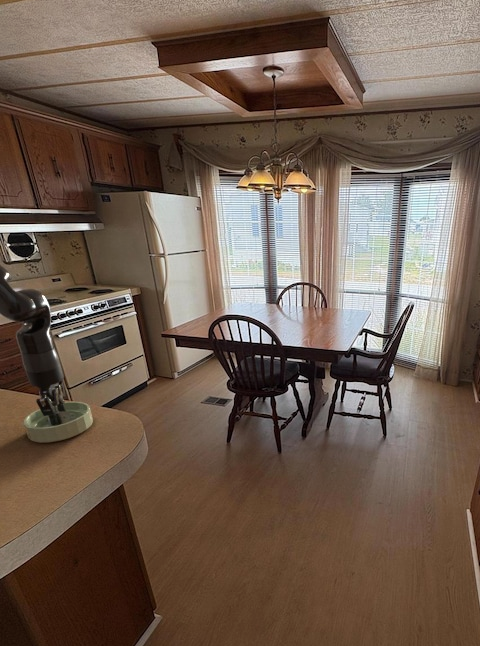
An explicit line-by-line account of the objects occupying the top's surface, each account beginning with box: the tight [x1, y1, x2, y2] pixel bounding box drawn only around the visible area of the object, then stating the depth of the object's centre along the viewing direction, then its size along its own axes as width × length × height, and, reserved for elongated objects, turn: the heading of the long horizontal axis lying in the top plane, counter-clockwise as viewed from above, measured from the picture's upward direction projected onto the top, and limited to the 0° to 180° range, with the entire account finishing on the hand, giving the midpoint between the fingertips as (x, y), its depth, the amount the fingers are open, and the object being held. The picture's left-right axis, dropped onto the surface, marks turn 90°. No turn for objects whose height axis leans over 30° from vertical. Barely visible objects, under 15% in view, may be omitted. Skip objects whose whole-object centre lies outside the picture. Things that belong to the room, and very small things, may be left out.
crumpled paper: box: [43, 411, 77, 427], centre depth 98 cm, size 4×8×7 cm, turn 127°
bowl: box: [23, 401, 94, 443], centre depth 98 cm, size 15×15×5 cm
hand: (59, 420), depth 98 cm, fingers closed on crumpled paper, 4 cm apart
